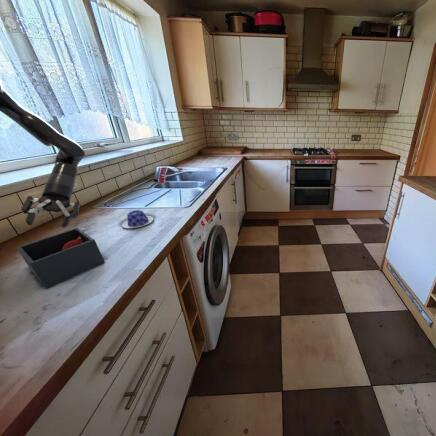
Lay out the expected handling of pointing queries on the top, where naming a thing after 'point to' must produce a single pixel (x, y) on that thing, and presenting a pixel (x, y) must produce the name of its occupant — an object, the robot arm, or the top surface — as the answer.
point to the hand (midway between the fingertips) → (46, 225)
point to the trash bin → (61, 257)
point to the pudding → (137, 219)
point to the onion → (73, 243)
